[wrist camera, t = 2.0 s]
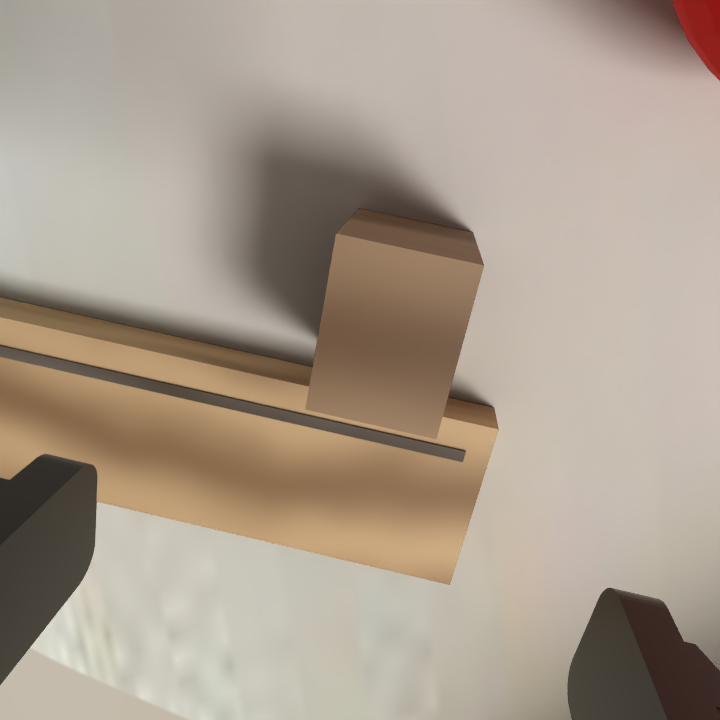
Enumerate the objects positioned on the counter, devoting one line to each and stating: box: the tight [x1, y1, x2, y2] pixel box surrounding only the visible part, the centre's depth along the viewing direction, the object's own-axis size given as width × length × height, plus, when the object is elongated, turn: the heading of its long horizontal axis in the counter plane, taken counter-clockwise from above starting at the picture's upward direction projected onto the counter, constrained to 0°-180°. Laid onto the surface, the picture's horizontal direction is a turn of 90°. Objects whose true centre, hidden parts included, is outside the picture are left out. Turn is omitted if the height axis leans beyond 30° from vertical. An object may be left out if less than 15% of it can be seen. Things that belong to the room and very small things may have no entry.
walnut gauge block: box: [305, 208, 484, 439], centre depth 22 cm, size 6×4×6 cm
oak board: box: [0, 297, 499, 585], centre depth 27 cm, size 8×26×2 cm, turn 79°
